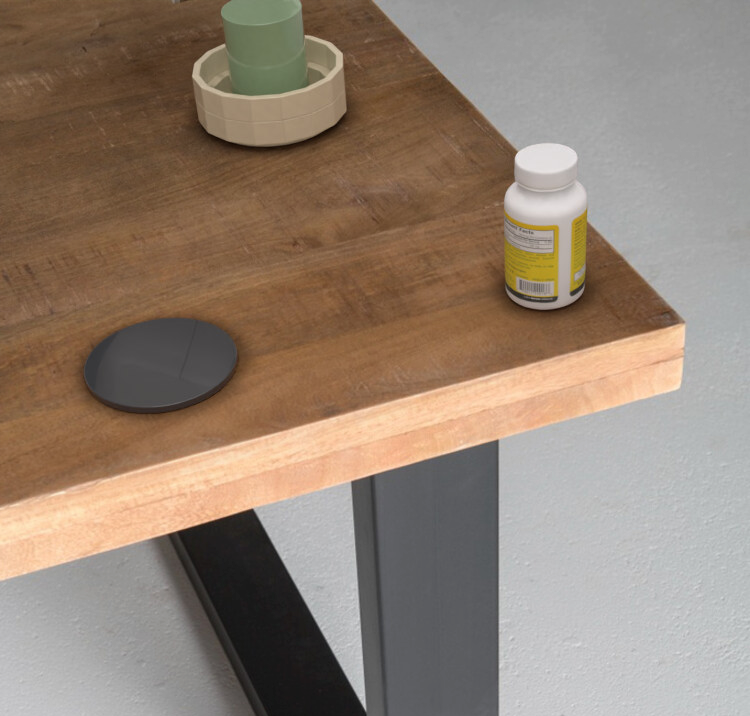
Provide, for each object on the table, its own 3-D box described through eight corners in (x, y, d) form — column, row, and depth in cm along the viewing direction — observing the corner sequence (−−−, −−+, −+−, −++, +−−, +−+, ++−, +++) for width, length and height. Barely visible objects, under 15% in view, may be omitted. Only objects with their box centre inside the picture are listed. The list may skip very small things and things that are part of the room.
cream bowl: (228, 165, 112) (220, 111, 109) (182, 105, 120) (173, 53, 117) (370, 129, 115) (366, 75, 112) (315, 73, 123) (310, 21, 120)
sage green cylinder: (249, 134, 114) (236, 31, 108) (224, 104, 118) (209, 2, 113) (323, 116, 116) (313, 13, 110) (295, 86, 120) (284, -14, 114)
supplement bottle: (562, 261, 98) (567, 130, 92) (598, 300, 95) (605, 166, 88) (491, 280, 97) (490, 148, 90) (524, 320, 93) (525, 185, 87)
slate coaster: (108, 430, 87) (106, 424, 87) (68, 349, 94) (66, 342, 94) (259, 385, 90) (258, 379, 90) (210, 308, 97) (208, 302, 96)
